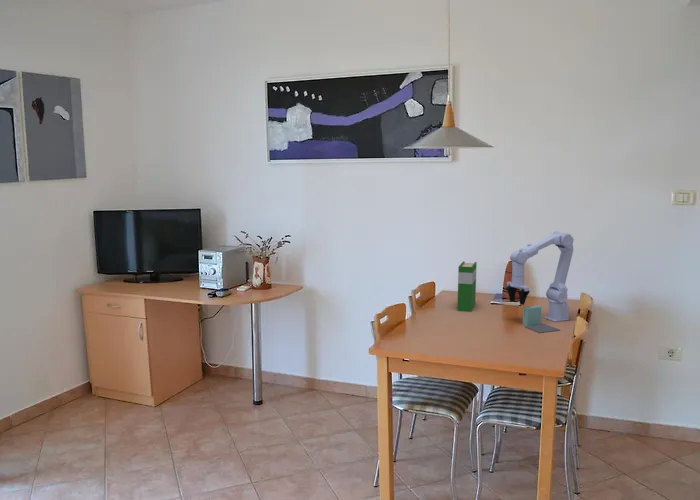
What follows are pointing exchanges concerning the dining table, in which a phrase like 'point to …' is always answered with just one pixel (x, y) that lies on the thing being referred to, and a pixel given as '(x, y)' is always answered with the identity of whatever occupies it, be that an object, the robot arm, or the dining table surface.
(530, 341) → the dining table surface
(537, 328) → the mat
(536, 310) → the slab
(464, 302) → the hardback book
